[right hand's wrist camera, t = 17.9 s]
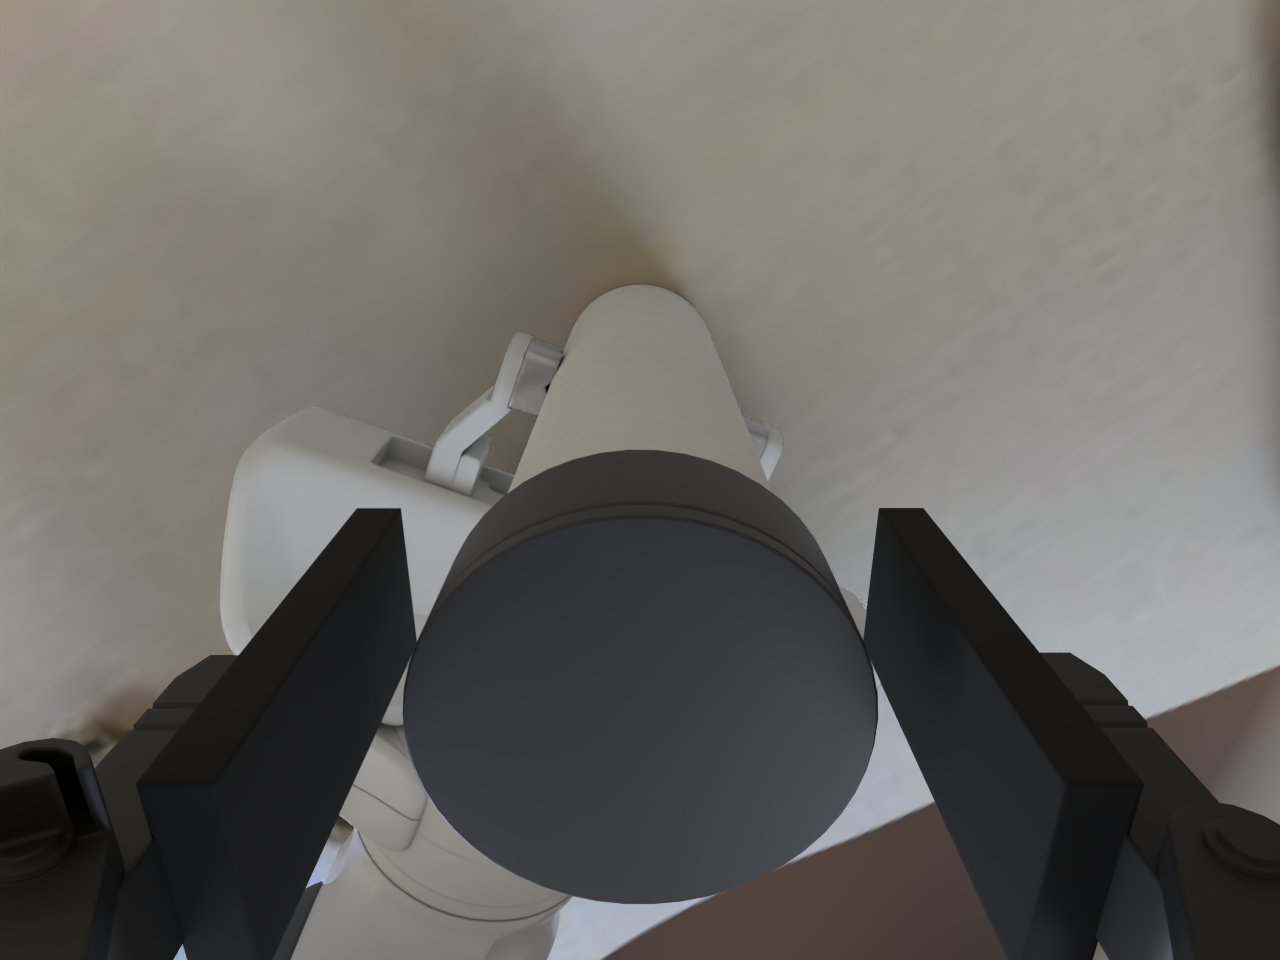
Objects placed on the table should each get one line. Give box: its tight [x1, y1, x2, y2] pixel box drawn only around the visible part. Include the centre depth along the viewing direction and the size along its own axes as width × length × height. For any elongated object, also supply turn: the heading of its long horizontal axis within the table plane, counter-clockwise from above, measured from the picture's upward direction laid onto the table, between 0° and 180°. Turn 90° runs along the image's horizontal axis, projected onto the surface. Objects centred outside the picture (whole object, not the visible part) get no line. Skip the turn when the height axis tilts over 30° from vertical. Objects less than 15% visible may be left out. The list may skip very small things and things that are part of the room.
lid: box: [403, 450, 878, 904], centre depth 12 cm, size 6×6×2 cm
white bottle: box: [508, 285, 772, 493], centre depth 20 cm, size 5×5×20 cm
